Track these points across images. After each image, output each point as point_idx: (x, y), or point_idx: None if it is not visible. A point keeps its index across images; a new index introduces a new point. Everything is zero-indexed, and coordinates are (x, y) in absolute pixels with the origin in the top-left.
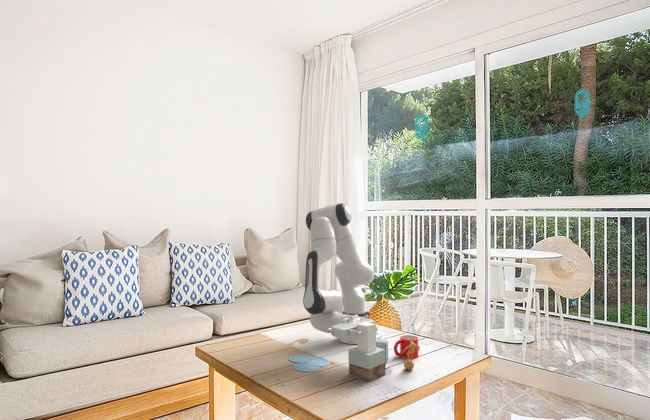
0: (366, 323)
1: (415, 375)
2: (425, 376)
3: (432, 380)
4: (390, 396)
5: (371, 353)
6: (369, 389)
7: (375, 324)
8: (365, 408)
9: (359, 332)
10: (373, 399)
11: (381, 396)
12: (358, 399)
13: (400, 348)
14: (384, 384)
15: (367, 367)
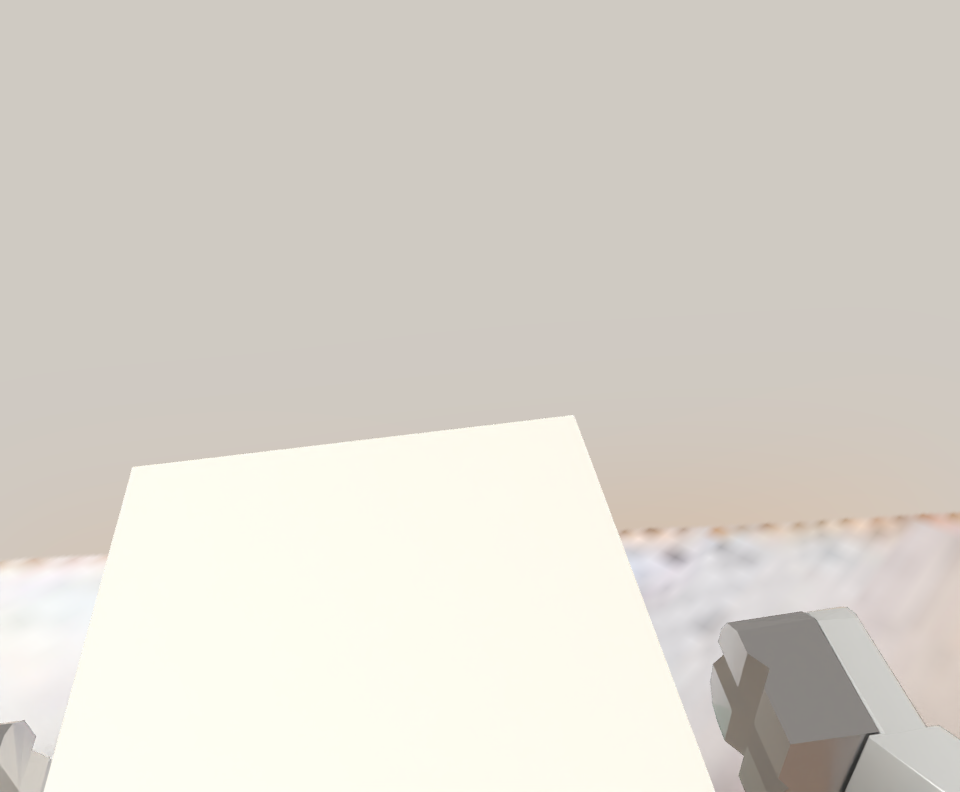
0: (284, 693)
1: (45, 721)
2: (21, 648)
3: (91, 562)
4: (638, 547)
5: None
6: (726, 746)
7: (156, 474)
8: (940, 516)
9: (836, 609)
10: (804, 580)
11: (707, 582)
12: (941, 645)
13: None
14: None
15: None
